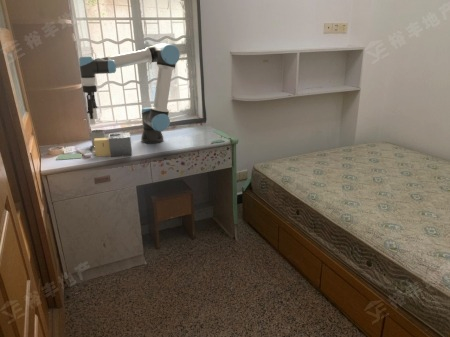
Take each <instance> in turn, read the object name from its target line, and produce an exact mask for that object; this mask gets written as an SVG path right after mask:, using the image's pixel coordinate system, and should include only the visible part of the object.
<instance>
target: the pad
mask: <svg viewBox="0 0 450 337" xmlns="http://www.w3.org/2000/svg"><path fill="white" fill-rule="evenodd" d="M82 158H83V156H82V154H80V153H78V152H77V153H67V154H66V153H65V154H58V156H57V157H56V159H55V161H63V160H76V159H82Z"/></svg>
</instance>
